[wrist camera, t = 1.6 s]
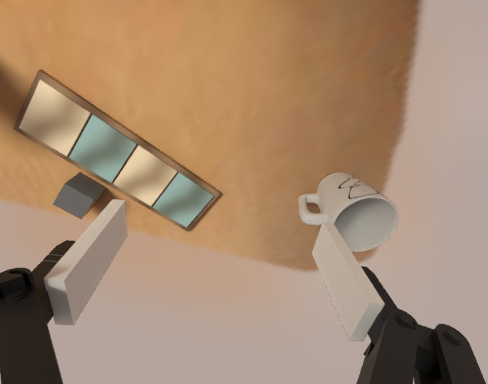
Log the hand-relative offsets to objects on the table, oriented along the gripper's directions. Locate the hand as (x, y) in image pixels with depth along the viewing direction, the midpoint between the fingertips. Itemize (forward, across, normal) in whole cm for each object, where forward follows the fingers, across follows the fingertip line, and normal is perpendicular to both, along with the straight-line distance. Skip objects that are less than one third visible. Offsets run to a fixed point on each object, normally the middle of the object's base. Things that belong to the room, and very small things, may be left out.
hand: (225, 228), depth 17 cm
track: (+21, -14, -5) cm, 26 cm away
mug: (+21, +16, -6) cm, 27 cm away
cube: (+21, -20, -10) cm, 31 cm away
